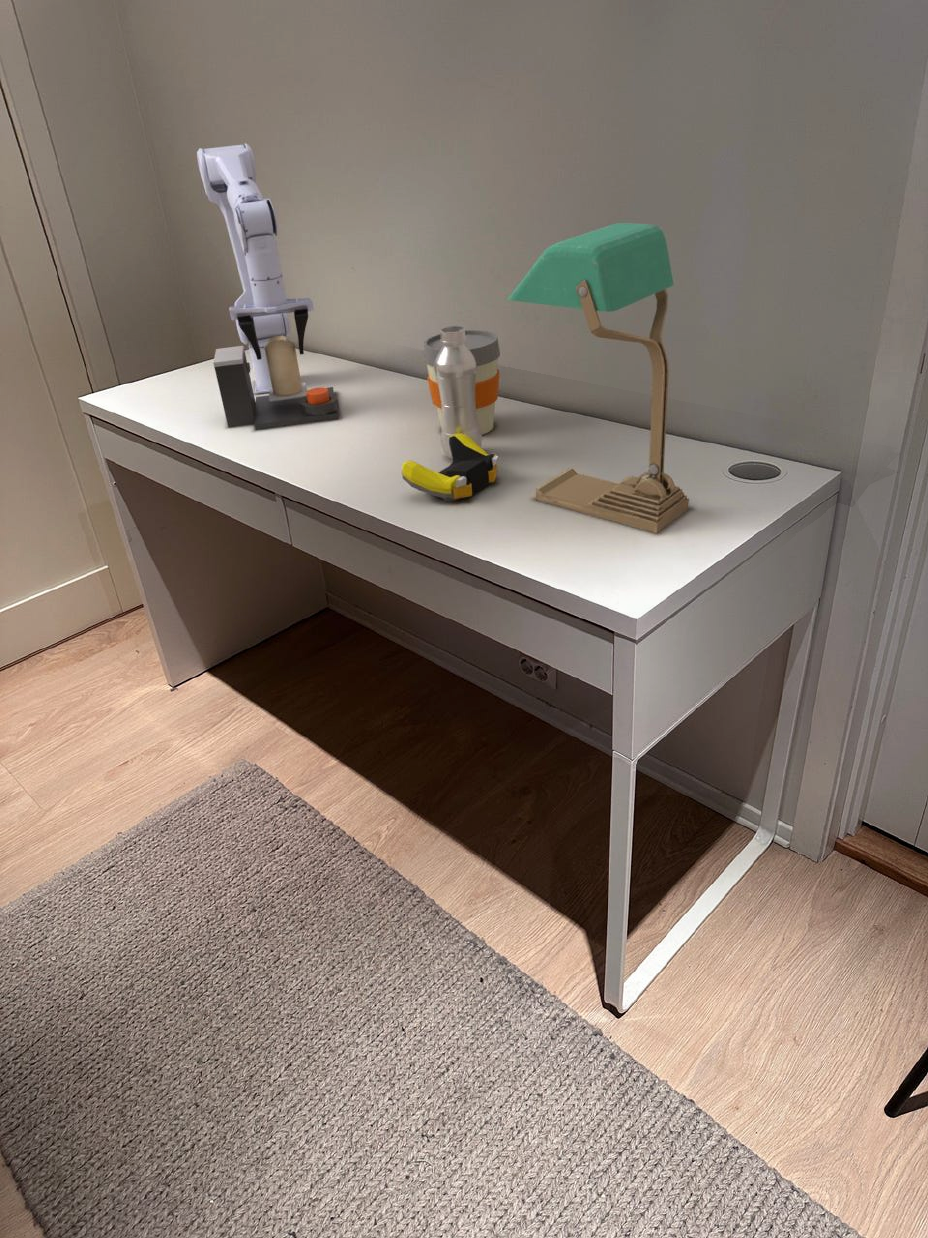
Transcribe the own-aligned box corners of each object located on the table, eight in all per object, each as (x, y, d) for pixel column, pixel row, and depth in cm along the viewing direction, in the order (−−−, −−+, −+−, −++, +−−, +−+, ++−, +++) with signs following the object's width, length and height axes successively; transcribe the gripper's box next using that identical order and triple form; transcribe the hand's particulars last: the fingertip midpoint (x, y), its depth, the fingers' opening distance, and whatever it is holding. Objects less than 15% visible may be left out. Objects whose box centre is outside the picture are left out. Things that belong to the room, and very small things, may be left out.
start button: (307, 399, 162) (305, 388, 160) (329, 396, 162) (327, 386, 161) (308, 406, 158) (306, 395, 157) (330, 403, 159) (328, 392, 158)
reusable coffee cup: (518, 428, 148) (514, 339, 140) (455, 447, 143) (447, 356, 135) (478, 409, 158) (472, 325, 149) (418, 427, 152) (408, 340, 144)
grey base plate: (257, 402, 171) (253, 387, 169) (335, 392, 172) (333, 377, 171) (255, 430, 157) (252, 414, 156) (341, 419, 159) (338, 403, 157)
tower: (230, 409, 168) (216, 346, 162) (308, 399, 170) (297, 336, 164) (228, 427, 160) (213, 362, 153) (310, 416, 161) (298, 351, 155)
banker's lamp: (641, 544, 111) (652, 251, 92) (512, 507, 123) (498, 240, 104) (701, 498, 121) (722, 224, 102) (575, 468, 133) (573, 217, 114)
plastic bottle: (491, 453, 140) (483, 326, 129) (463, 467, 136) (452, 337, 125) (462, 445, 144) (452, 320, 133) (433, 458, 140) (421, 331, 129)
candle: (299, 394, 162) (289, 340, 157) (270, 396, 162) (259, 342, 157) (304, 385, 167) (295, 332, 161) (276, 387, 167) (266, 334, 162)
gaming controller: (398, 498, 128) (452, 512, 123) (394, 463, 125) (449, 476, 120) (459, 461, 138) (511, 473, 133) (456, 428, 135) (509, 438, 130)
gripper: (222, 286, 148) (239, 366, 155) (308, 276, 150) (321, 356, 157) (224, 278, 154) (241, 355, 161) (307, 269, 155) (319, 345, 163)
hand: (280, 355), depth 159 cm, fingers open, 7 cm apart
